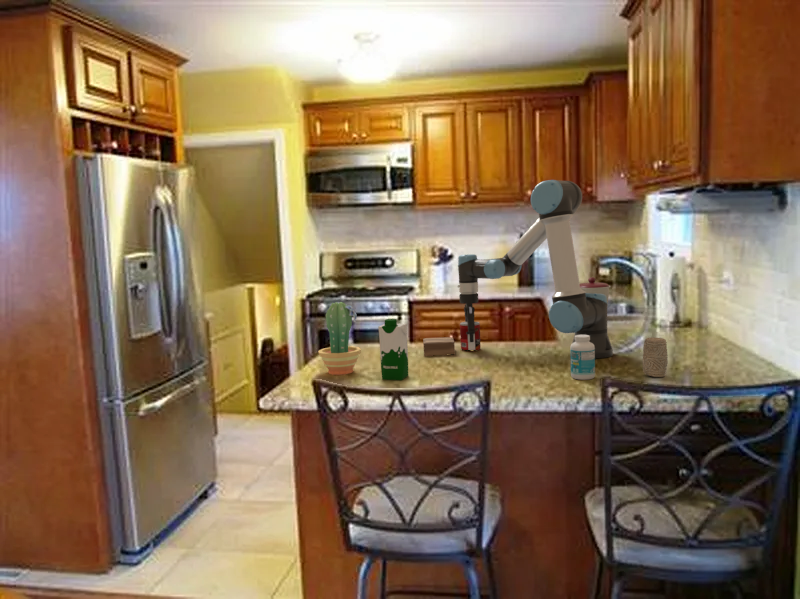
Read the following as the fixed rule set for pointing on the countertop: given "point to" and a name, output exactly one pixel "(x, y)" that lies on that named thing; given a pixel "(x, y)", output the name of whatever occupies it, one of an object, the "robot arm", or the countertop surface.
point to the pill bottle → (582, 358)
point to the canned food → (465, 336)
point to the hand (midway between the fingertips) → (470, 347)
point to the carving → (655, 357)
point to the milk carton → (393, 350)
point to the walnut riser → (438, 346)
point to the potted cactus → (340, 340)
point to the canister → (595, 287)
